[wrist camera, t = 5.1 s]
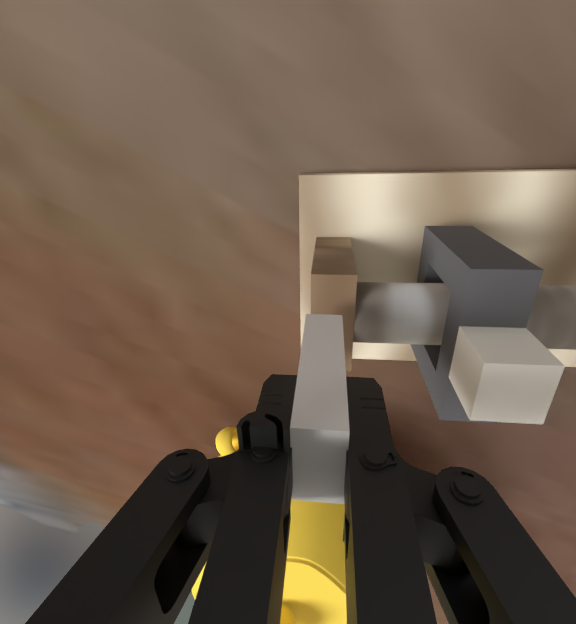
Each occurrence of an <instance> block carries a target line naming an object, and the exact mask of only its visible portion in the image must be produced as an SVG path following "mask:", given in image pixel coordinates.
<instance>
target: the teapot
mask: <svg viewBox="0 0 576 624" xmlns="http://www.w3.org/2000/svg"><path fill="white" fill-rule="evenodd" d="M216 447H217V450H218V452H219V453H220V454H221V455H220V456H218V457H222V456H226V455H229V454H231V453H233V452H235V451H237V450H238V449H239V445H238V436H237V427H232V426H230V427H226V428H224V429H222V430H221V431H220V432H219V433H218V434H217V437H216ZM290 510H291V522H290V531H289V541H288V551H287V560H286V570H285V579H284V589H283V599H282V608H281V618H280V624H347V611H346V578H345V544H344V542H343V529H344V515H345V503H344V504H336V503H325V502H313V501H301V500H292V497H291V506H290ZM206 562H207V561H206ZM205 565H206V563H205ZM205 565H204V567H203V569H202V571H201V573H200V575H199V576H198V578H197V580H196V582H195V584H194V586H193V588H192V594H193V596H194V598H195V599H196V596H197V592H198V589H199V585H200V582H201V579H202V575H203V572H204V568H205Z"/></svg>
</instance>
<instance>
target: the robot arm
mask: <svg viewBox="0 0 576 624" xmlns="http://www.w3.org/2000/svg"><path fill="white" fill-rule="evenodd" d="M236 427H237V436H238V445H239V449H238V450H237V451H235V452H233V453H231V454H229V455H226V456H222V457H217V458H212V459H206V457H205V456H204V454H203V453H201V452H199V451H197V450H194V449H183V450H178V451H175V452H173V453H171V454H169V455H167V456H166V457H165V458H164V459H163V460H162V461H160V462H159V464H158V465H157V466H156V467H155V468H154V470H153V471H152V472H151V473H150V474H149V476H148V477H147V478H146V479H145V480H144V482H143V483H142V484H141V485H140V486H139V488H138V489H137V490H136V491H135V492H134V494H133V495H132V496H131V497H130V498H129V500H128V501H127V502H126V503H125V504H124V506H123V507H122V508H121V509H120V510H119V512H118V513H117V514H116V515H115V516H114V518H113V519H112V520H111V521H110V522H109V524H108V525H107V526H106V527H105V529H104V530H103V531H102V532H101V533H100V534H99V536H98V537H97V538H96V539H95V541H94V542H93V543H92V544H91V545H90V546H89V548H88V549H87V550H86V551H85V552H84V554H83V555H82V556H81V557H80V558H79V560H78V561H77V562H76V563H75V565H74V566H73V567H72V568H71V569H70V570H69V572H68V573H67V574H66V575H65V576H64V578H63V579H62V580H61V581H60V583H59V584H58V585H57V586H56V587H55V588H54V590H53V591H52V592H51V593H50V595H49V596H48V597H47V598H46V599H45V600H44V602H43V603H42V604H41V605H40V607H39V608H38V609H37V610H36V611H35V612H34V614H33V615H32V616H31V617H30V618H29V620H28V621H27V622H26V623H25V624H174V622H175V620H176V618H177V616H178V614H179V612H180V611H181V609H182V607H183V605H184V603H185V601H186V599H187V597H188V595H189V593H190V592H191V590H192V588H193V586H194V584H195V582H196V580H197V578H198V576H199V575H200V573H201V571H202V569H203V567H204V565H205V563H206V565H205V568H204V572H203V575H202V579H201V582H200V585H199V589H198V592H197V596H196V599H195V603H194V606H193V609H192V613H191V616H190V620H189V623H188V624H280V618H281V608H282V599H283V589H284V579H285V570H286V560H287V551H288V541H289V531H290V522H291V510H290V506H291V497H292V500H301V501H313V502H325V503H336V504H344V503H345V515H344V529H343V542H344V544H345V578H346V611H347V624H437V622H436V617H435V612H434V608H433V603H432V598H431V594H430V589H429V584H428V580H427V575H426V572H427V574H428V577H429V579H430V581H431V584H432V586H433V588H434V590H435V593H436V595H437V597H438V600H439V602H440V604H441V606H442V609H443V611H444V613H445V615H446V618H447V620H448V622H449V624H576V598H575V596H574V595H573V594H572V592H571V591H570V590H569V588H568V587H567V586H566V584H565V583H564V582H563V580H562V579H561V578H560V576H559V575H558V573H557V572H556V571H555V569H554V568H553V567H552V565H551V564H550V563H549V561H548V560H547V559H546V557H545V556H544V555H543V553H542V552H541V551H540V549H539V548H538V546H537V545H536V544H535V542H534V541H533V540H532V538H531V537H530V536H529V534H528V533H527V532H526V530H525V529H524V528H523V526H522V525H521V524H520V522H519V521H518V519H517V518H516V517H515V515H514V514H513V513H512V511H511V510H510V509H509V507H508V506H507V505H506V503H505V502H504V501H503V499H502V498H501V497H500V495H499V494H498V492H497V491H496V490H495V488H494V487H493V486H492V485H491V484H490V483H489V482H488V481H487V480H486V479H485V478H484V477H482V476H481V475H479V474H477V473H476V472H474V471H472V470H469V469H466V468H463V467H449V468H446V469H443V470H442V471H441V472H440V473H439V474H438V475H434V474H432V473H429V472H426V471H423V470H420V469H418V468H415V467H413V466H411V465H410V464H408V463H407V462H405V461H404V460H403V459H402V458H401V457H400V456H399V454H398V453H397V452H396V450H395V448H394V445H393V442H392V437H391V432H390V427H389V422H388V417H387V412H386V407H385V402H384V397H383V392H382V388H381V387H380V385H379V384H378V383H377V382H376V380H375V379H374V378H360V377H346V366H345V350H344V334H343V318H342V315H326V314H306V319H305V326H304V333H303V340H302V347H301V354H300V361H299V368H298V375H276V374H272V375H271V376H270V377H269V378H268V379H267V380H266V381H265V382H264V384H263V387H262V391H261V395H260V398H259V402H258V405H257V409H256V411H255V412H252V413H249V414H247V415H246V416H245V417H243V418H242V419H241V420H240V421H239V423H238V425H237V426H236ZM206 561H207V562H206ZM425 570H426V571H425Z"/></svg>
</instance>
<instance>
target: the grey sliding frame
mask: <svg viewBox="0 0 576 624" xmlns="http://www.w3.org/2000/svg"><path fill="white" fill-rule="evenodd" d="M542 274H543V269H541V268H540V267H538V266H536V265H535V264H533V263H532V262H530V261H528V260H527V259H525V258H524V257H522V256H520V255H519V254H517V253H515V252H514V251H512V250H511V249H509V248H507V247H506V246H504V245H503V244H501V243H499V242H498V241H496V240H494V239H493V238H491V237H490V236H488V235H486V234H485V233H483V232H482V231H480V230H478V229H477V228H475V227H473V226H425V228H424V235H423V242H422V249H421V256H420V263H419V270H418V277H417V283H445V285H446V286H447V287H448V288H449V290H450V291H451V295H450V300H449V306H448V311H447V316H446V322H445V327H444V332H443V337H442V343H441V345H419V344H410V345H411V347H412V350H413V352H414V355H415V358H416V360H417V363H418V365H419V368H420V371H421V373H422V376H423V378H424V381H425V383H426V386H427V389H428V391H429V394H430V396H431V399H432V402H433V404H434V407H435V409H436V412H437V415H438V417H439V420H448V421H466V422H484V423H497V422H510V423H528V424H543V423H544V420H545V418H546V415H547V412H548V410H549V407H550V405H551V402H552V399H553V397H554V394H555V391H556V389H557V386H558V383H559V381H560V378H561V376H562V373H563V370H564V368H565V366H564V365H563V364H562V363H561V362H560V361H559V360H558V359H557V358H556V357H555V356H554V355H553V354H552V353H551V352H550V351H549V350H548V349H547V348H546V347H545V346H544V345H543V344H542V343H541V342H540V341H539V340H538V339H537V338H536V337H535V336H534V335H533V334H532V333H531V332H530V331H529V330H527V329H526V326H527V323H528V320H529V316H530V313H531V310H532V307H533V303H534V300H535V297H536V293H537V290H538V287H539V284H540V280H541V277H542Z"/></svg>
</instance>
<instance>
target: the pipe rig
mask: <svg viewBox="0 0 576 624" xmlns="http://www.w3.org/2000/svg"><path fill="white" fill-rule="evenodd" d="M299 222H300V311H301V347H302V340H303V333H304V326H305V319H306V314H326V315H342V318H343V334H344V350H345V366H346V371H351V368H352V358H355V359H381V360H408V361H417V360H416V358H415V355H414V352H413V350H412V347H411V345H410V344H419V345H441V343H442V337H443V332H444V327H445V322H446V316H447V311H448V306H449V300H450V295H451V291H450V290H449V288H448V287H447V286H446V285H445V283H417V277H418V270H419V263H420V256H421V249H422V242H423V235H424V228H425V226H473V227H475V228H477V229H478V230H480V231H482V232H483V233H485V234H486V235H488V236H490V237H491V238H493V239H494V240H496V241H498V242H499V243H501V244H503V245H504V246H506V247H507V248H509V249H511V250H512V251H514V252H515V253H517V254H519V255H520V256H522V257H524V258H525V259H527V260H528V261H530V262H532V263H533V264H535V265H536V266H538V267H540V268H541V269H543V274H542V277H541V280H540V284H539V287H538V290H537V293H536V297H535V300H534V303H533V307H532V310H531V313H530V316H529V320H528V323H527V326H526V329H527V330H529V331H530V332H531V333H532V334H533V335H534V336H535V337H536V338H537V339H538V340H539V341H540V342H541V343H542V344H543V345H544V346H545V347H546V348H547V349H548V350H549V351H550V352H551V353H552V354H553V355H554V356H555V357H556V358H557V359H558V360H559V361H560V362H561V363H562V364H563V365H564V366H565V367H576V169H531V170H475V171H419V172H363V173H307V174H300V175H299Z"/></svg>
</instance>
